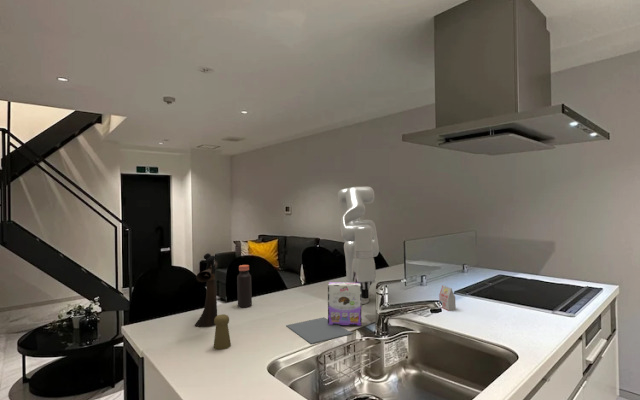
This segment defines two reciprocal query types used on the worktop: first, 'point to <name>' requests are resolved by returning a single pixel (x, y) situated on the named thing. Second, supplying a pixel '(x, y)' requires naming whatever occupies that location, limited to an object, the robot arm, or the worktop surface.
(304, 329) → the mat
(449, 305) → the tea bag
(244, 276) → the bottle
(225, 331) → the olive game pawn
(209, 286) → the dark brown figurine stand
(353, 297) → the candy box
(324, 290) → the worktop surface
